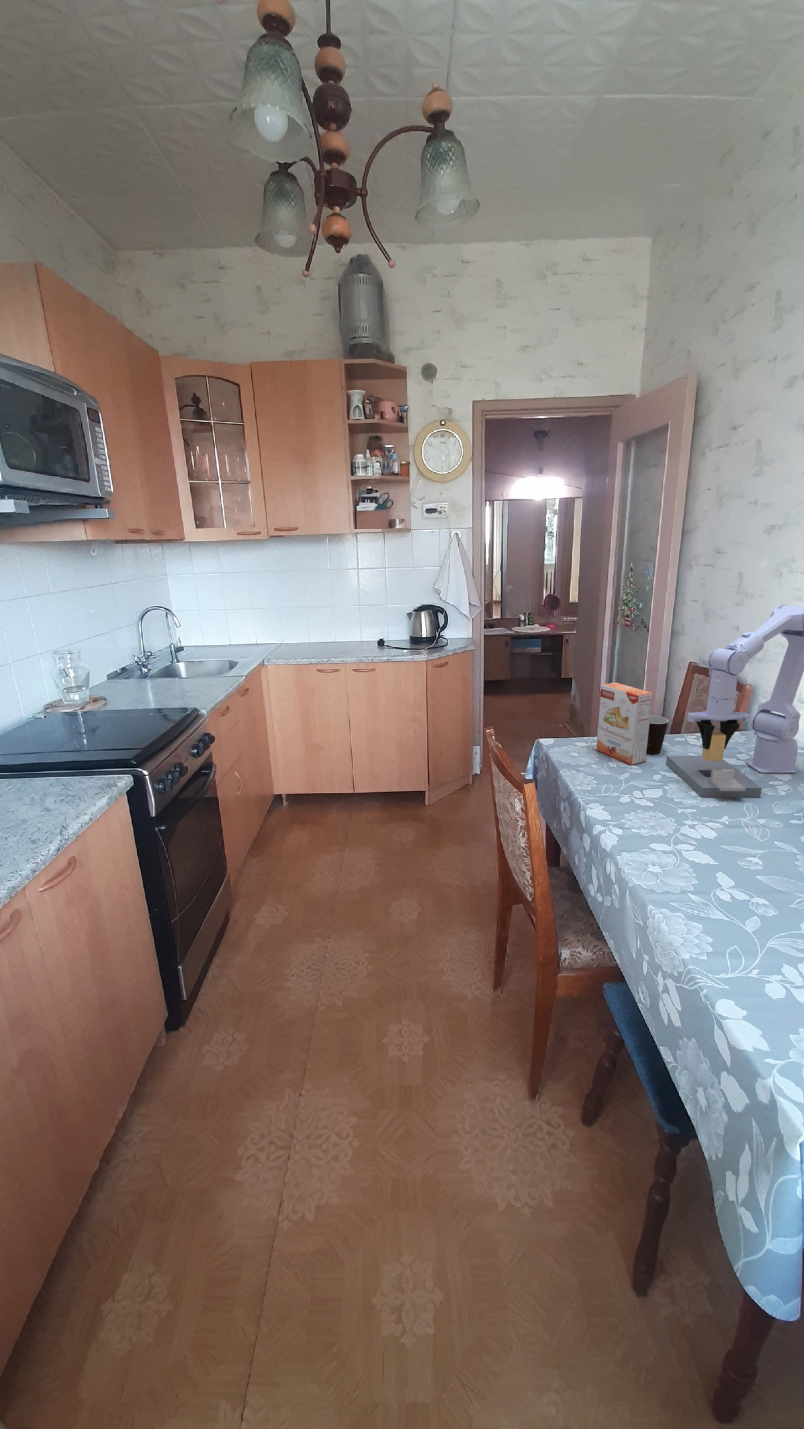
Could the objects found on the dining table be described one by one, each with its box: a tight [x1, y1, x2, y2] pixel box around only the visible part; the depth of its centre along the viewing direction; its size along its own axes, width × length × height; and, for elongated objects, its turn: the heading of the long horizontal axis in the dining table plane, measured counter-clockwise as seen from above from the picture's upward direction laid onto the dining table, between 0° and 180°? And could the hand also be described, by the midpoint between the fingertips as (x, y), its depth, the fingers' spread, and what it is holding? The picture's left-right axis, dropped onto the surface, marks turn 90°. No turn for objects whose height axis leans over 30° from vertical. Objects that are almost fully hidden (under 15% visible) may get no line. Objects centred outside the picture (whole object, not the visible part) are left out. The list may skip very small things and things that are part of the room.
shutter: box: [708, 769, 746, 791], centre depth 139 cm, size 6×6×3 cm
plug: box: [701, 730, 726, 761], centre depth 145 cm, size 4×4×7 cm
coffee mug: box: [646, 714, 669, 756], centre depth 170 cm, size 12×9×10 cm
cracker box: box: [595, 681, 654, 766], centre depth 164 cm, size 14×6×21 cm, turn 25°
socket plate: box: [665, 755, 763, 798], centre depth 149 cm, size 14×22×2 cm, turn 177°
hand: (713, 748), depth 145 cm, fingers closed on plug, 3 cm apart
